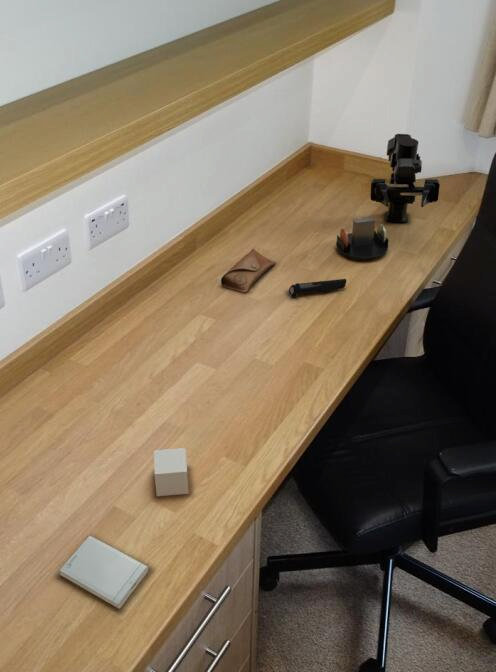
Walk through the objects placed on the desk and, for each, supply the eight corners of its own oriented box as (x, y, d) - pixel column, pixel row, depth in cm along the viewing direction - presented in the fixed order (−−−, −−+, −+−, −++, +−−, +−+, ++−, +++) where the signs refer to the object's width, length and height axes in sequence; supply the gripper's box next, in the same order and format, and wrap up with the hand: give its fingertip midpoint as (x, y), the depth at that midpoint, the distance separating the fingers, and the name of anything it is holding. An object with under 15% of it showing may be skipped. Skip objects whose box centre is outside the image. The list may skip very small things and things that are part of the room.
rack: (329, 237, 212) (331, 211, 207) (376, 232, 214) (379, 205, 209) (345, 262, 199) (348, 234, 194) (396, 256, 201) (399, 228, 196)
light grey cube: (188, 493, 132) (187, 471, 129) (156, 496, 132) (154, 474, 129) (186, 469, 137) (185, 447, 134) (156, 472, 137) (153, 450, 134)
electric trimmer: (347, 292, 189) (348, 282, 187) (291, 298, 186) (292, 288, 185) (343, 285, 192) (344, 275, 190) (288, 291, 190) (288, 281, 188)
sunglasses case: (248, 292, 189) (236, 271, 187) (228, 297, 193) (217, 277, 192) (277, 262, 201) (267, 242, 200) (258, 268, 206) (248, 248, 204)
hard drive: (58, 569, 117) (118, 603, 112) (90, 534, 123) (147, 564, 118) (60, 576, 118) (119, 610, 113) (91, 540, 124) (148, 570, 119)
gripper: (372, 152, 203) (371, 179, 191) (440, 152, 198) (443, 179, 187) (370, 186, 209) (369, 214, 197) (436, 187, 205) (439, 215, 193)
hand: (404, 205), depth 193 cm, fingers open, 9 cm apart
